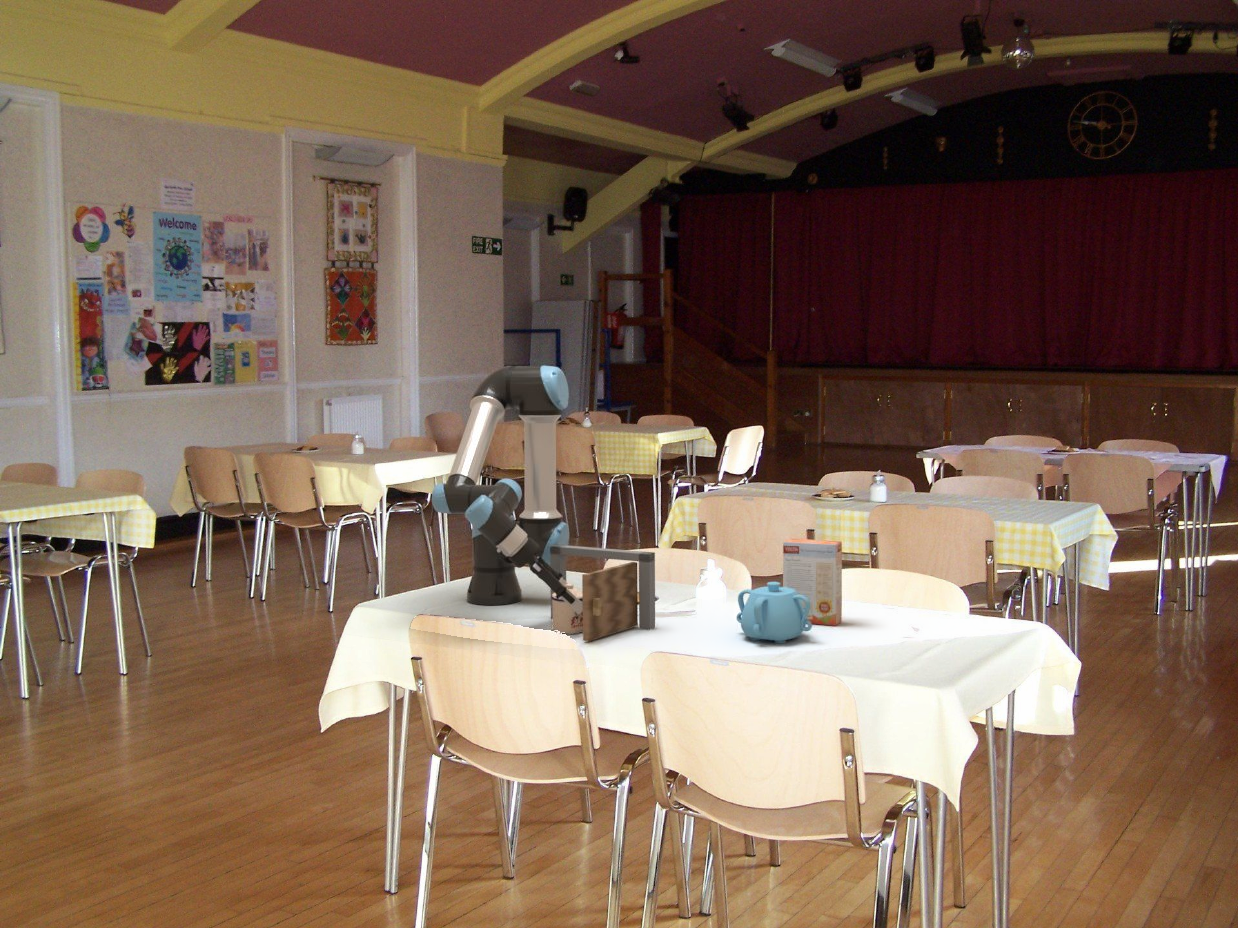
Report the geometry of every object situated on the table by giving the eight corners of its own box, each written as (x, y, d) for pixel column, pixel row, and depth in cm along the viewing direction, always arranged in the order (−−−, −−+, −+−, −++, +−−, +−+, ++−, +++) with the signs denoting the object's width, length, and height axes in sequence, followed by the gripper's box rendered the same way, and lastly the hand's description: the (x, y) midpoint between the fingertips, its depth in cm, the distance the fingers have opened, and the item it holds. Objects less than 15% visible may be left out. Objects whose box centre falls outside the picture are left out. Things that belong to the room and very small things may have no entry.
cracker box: (842, 621, 326) (843, 540, 323) (835, 626, 320) (836, 544, 318) (789, 616, 331) (789, 537, 329) (782, 621, 326) (782, 540, 324)
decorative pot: (733, 631, 317) (733, 577, 315) (796, 628, 319) (796, 574, 317) (748, 647, 300) (748, 590, 299) (814, 644, 302) (815, 587, 301)
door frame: (556, 616, 334) (555, 544, 332) (655, 627, 321) (654, 552, 319) (551, 618, 331) (549, 546, 329) (650, 629, 318) (649, 554, 316)
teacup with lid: (576, 636, 312) (575, 589, 311) (544, 632, 317) (544, 585, 316) (601, 625, 323) (600, 580, 321) (570, 622, 327) (569, 577, 326)
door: (632, 624, 322) (632, 561, 320) (643, 626, 320) (642, 563, 318) (583, 640, 306) (582, 574, 304) (593, 642, 304) (592, 575, 302)
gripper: (505, 549, 328) (564, 604, 331) (510, 567, 303) (574, 626, 307) (525, 528, 328) (584, 583, 332) (532, 544, 303) (595, 604, 307)
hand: (579, 604), depth 319 cm, fingers open, 13 cm apart
